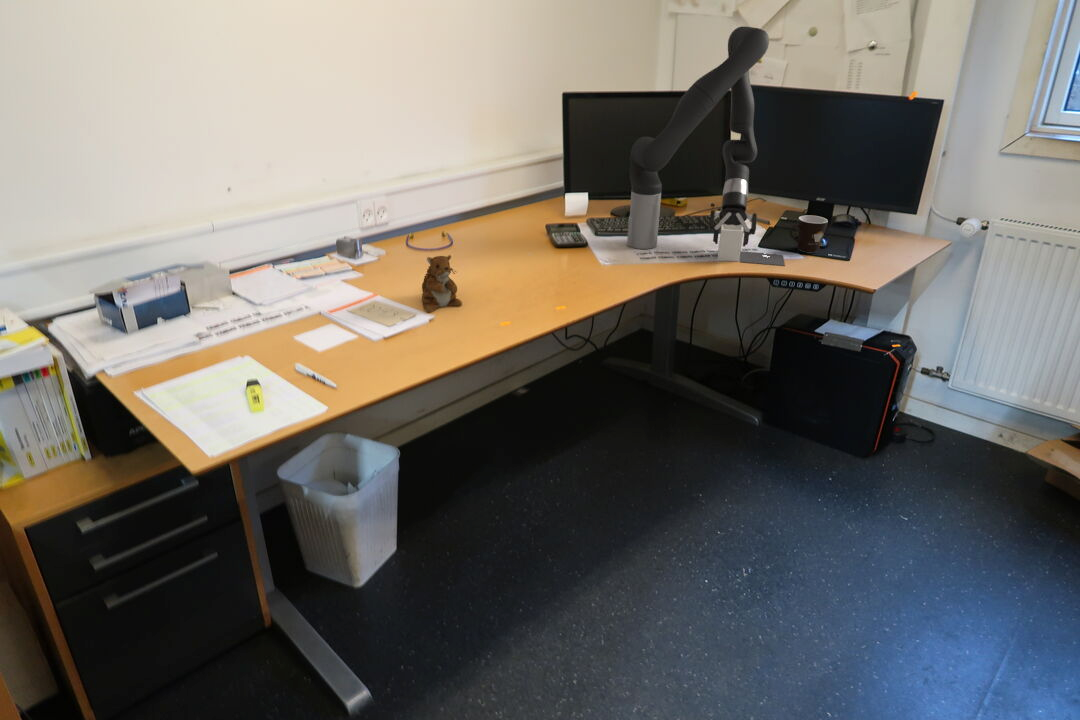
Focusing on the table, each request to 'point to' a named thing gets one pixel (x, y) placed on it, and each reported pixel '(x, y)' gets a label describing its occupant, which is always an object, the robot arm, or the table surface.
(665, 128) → the robot arm
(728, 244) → the canister
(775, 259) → the mat
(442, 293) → the brown plush animal
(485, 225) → the table surface
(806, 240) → the coffee mug
